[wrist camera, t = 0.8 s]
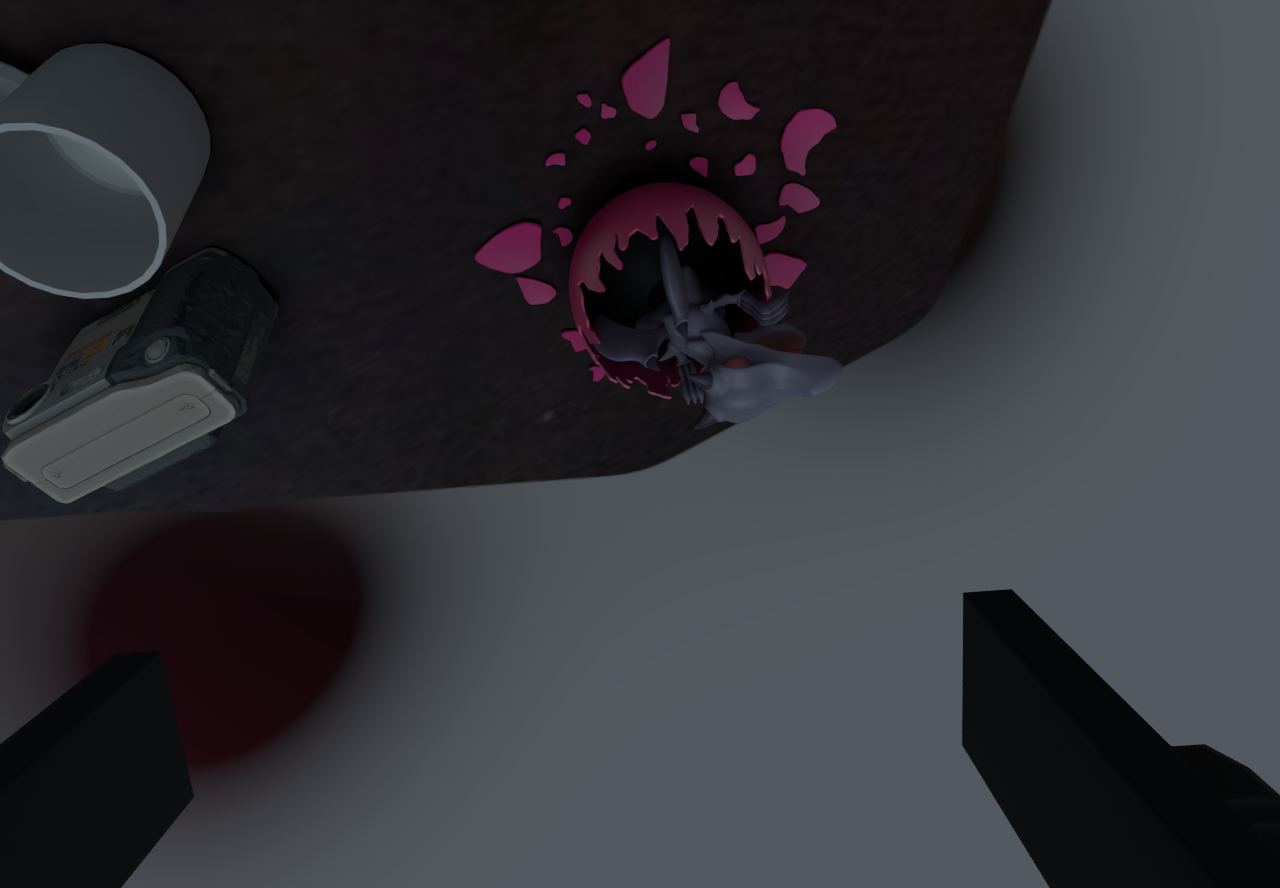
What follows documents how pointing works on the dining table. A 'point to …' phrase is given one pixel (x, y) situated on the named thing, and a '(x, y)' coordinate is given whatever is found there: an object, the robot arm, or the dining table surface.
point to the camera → (145, 382)
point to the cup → (95, 169)
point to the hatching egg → (683, 274)
